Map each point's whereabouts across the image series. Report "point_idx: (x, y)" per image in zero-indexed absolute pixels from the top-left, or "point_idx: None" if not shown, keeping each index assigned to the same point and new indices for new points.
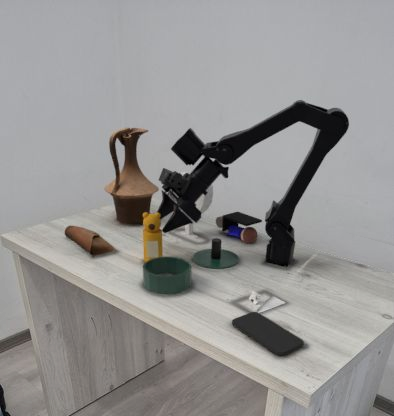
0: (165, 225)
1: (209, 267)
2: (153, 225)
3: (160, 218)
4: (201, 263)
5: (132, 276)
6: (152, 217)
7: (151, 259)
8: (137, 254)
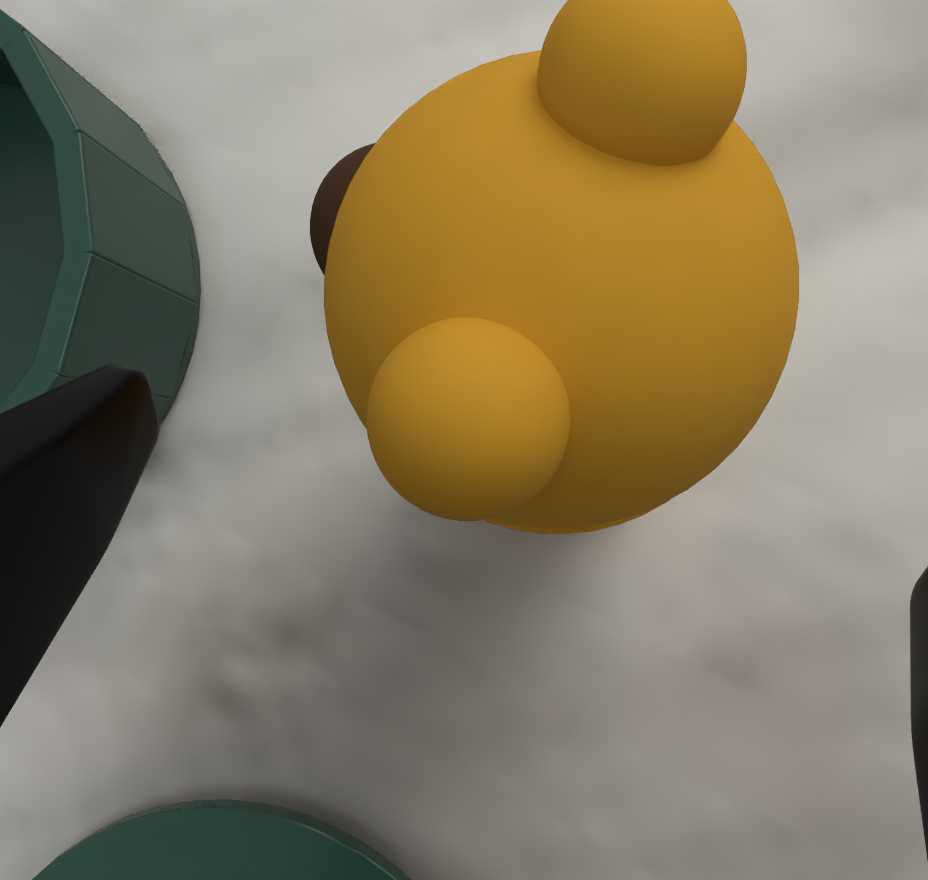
0: (13, 427)
1: (39, 874)
2: (310, 232)
3: (922, 708)
4: (146, 843)
5: (301, 46)
6: (387, 205)
7: (61, 137)
8: (852, 310)
